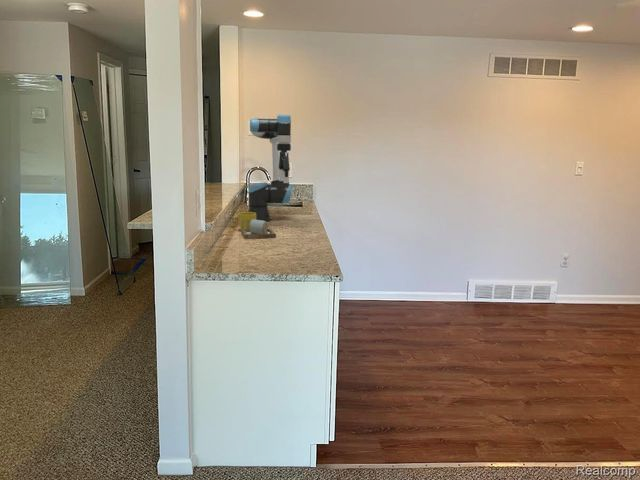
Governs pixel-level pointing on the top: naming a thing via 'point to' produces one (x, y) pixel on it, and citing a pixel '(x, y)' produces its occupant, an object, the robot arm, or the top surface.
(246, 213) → the plant pot
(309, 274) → the top surface
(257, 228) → the ceramic mug
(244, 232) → the coaster tray
